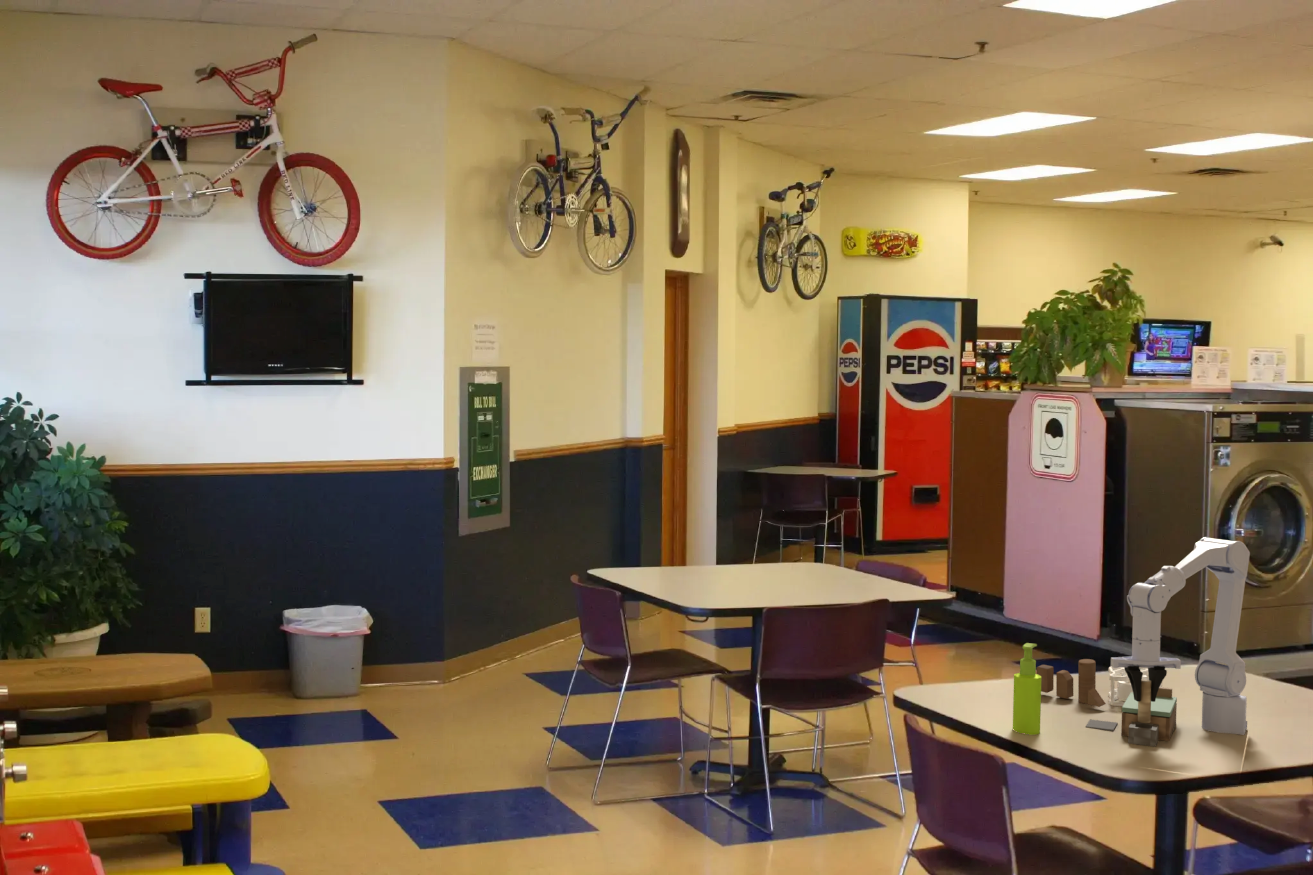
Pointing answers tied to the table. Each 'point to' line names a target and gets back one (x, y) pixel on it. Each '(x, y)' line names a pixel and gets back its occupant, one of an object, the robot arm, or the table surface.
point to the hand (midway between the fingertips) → (1144, 700)
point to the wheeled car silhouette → (1122, 685)
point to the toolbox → (1148, 728)
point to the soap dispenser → (1027, 695)
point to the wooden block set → (1065, 682)
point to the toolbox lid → (1154, 703)
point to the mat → (1102, 725)
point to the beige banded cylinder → (1145, 702)
